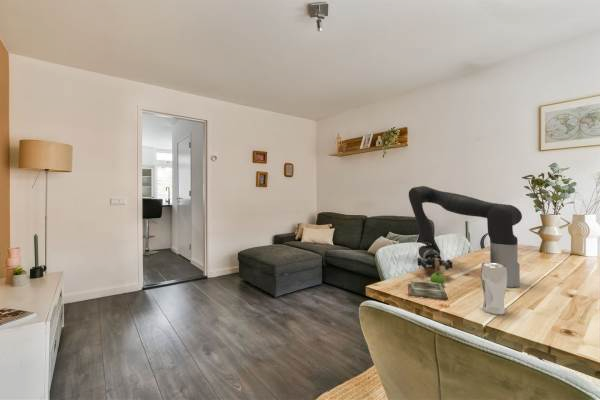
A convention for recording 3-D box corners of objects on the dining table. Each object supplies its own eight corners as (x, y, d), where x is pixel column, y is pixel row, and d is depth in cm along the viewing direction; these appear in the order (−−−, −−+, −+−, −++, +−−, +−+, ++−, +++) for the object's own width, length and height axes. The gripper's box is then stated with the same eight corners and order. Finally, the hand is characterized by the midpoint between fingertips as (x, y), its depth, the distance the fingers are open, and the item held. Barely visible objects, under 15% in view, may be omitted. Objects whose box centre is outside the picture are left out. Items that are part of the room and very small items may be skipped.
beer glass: (511, 316, 85) (511, 268, 85) (486, 314, 87) (486, 267, 86) (500, 307, 92) (500, 262, 92) (477, 306, 93) (477, 262, 93)
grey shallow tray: (443, 289, 110) (443, 282, 109) (448, 300, 98) (448, 292, 98) (408, 286, 114) (408, 279, 114) (408, 296, 103) (408, 289, 103)
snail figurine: (443, 283, 117) (443, 255, 117) (446, 288, 111) (445, 258, 111) (429, 282, 119) (429, 254, 118) (431, 287, 113) (431, 258, 112)
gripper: (416, 250, 137) (418, 257, 122) (448, 251, 132) (454, 259, 117) (416, 265, 137) (418, 273, 122) (448, 267, 132) (454, 276, 117)
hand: (435, 266), depth 119 cm, fingers open, 8 cm apart
